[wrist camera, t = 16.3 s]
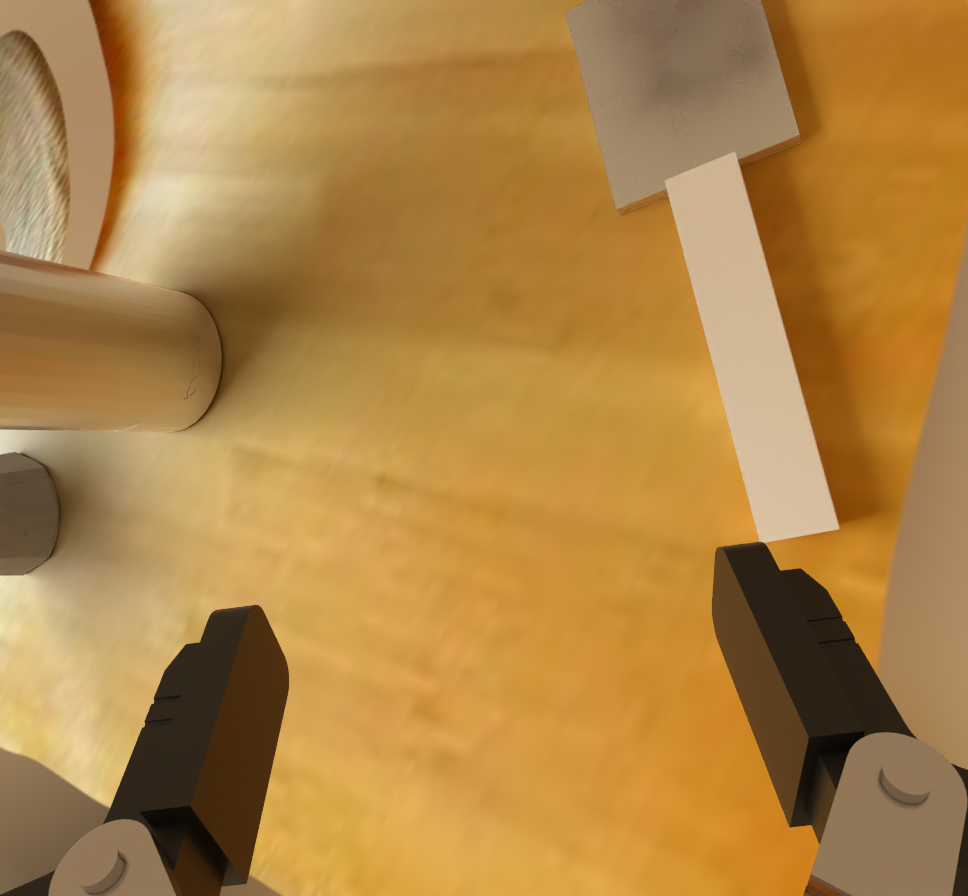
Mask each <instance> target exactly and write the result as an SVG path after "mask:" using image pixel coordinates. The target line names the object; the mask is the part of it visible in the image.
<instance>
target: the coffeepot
mask: <svg viewBox="0 0 968 896" xmlns="http://www.w3.org/2000/svg"><path fill="white" fill-rule="evenodd" d="M58 529H59V503H58V497H57V493H56V489H55V487H54V484H53V482H52V479H51V478H50V476H49V474H48V473H47V471H46V469H45V468H44V467H43V466H42V465H41V464H40V463H38V462H37V461H35V460H34V459H31V458H28V457H25V456H22V455H20V454H18V453H17V452H14V453H8V454H2V455H0V575H24V574H26V573H27V572H29V571H31V570H32V569H34V568H36V567H38V566H40V565H41V564H42V563H43V562H44V561H45V560H46V559H47V558H48V557H49V556H50V554H51V552H52V549H53V547H54V545H55V542H56V539H57V535H58Z"/></svg>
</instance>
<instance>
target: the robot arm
mask: <svg viewBox="0 0 968 896" xmlns="http://www.w3.org/2000/svg"><path fill="white" fill-rule="evenodd" d="M221 361H222V352H221V344H220V338H219V335H218V331H217V328H216V325H215V323H214V321H213V319H212V317H211V315H210V313H209V312H208V311H207V309H206V308H205V307H204V306H203V304H202V303H201V302H199V301H198V300H197V299H195V298H194V297H193V296H190V295H188V294H185V293H183V292H179V291H174V290H170V289H166V288H162V287H157V286H153V285H149V284H144V283H140V282H136V281H132V280H128V279H124V278H119V277H115V276H111V275H106V274H102V273H98V272H93V271H89V270H84V269H80V268H76V267H71V266H67V265H63V264H58V263H54V262H50V261H45V260H41V259H37V258H32V257H28V256H24V255H19V254H15V253H11V252H6V251H2V250H0V429H15V430H74V431H121V432H177V431H180V430H183V429H186V428H188V427H190V426H191V425H192V424H194V423H195V422H196V421H198V420H199V419H200V417H201V416H202V415H203V414H204V413H205V412H206V410H207V409H208V407H209V405H210V404H211V402H212V400H213V398H214V395H215V393H216V390H217V387H218V384H219V379H220V374H221ZM712 617H713V624H714V629H715V633H716V637H717V640H718V643H719V646H720V648H721V651H722V654H723V656H724V659H725V661H726V664H727V666H728V669H729V672H730V674H731V677H732V679H733V682H734V685H735V687H736V690H737V692H738V695H739V698H740V700H741V703H742V705H743V708H744V711H745V713H746V716H747V718H748V721H749V723H750V726H751V729H752V731H753V734H754V736H755V739H756V742H757V744H758V747H759V749H760V752H761V755H762V757H763V760H764V762H765V765H766V767H767V770H768V773H769V775H770V778H771V780H772V783H773V786H774V788H775V791H776V793H777V796H778V799H779V801H780V804H781V806H782V809H783V812H784V814H785V817H786V819H787V822H788V824H789V827H797V826H806V825H812V827H813V829H814V832H815V834H816V837H817V839H818V842H819V844H820V846H819V849H818V853H817V856H816V859H815V862H814V865H813V869H812V872H811V875H810V878H809V881H808V884H807V887H806V889H805V892H804V895H803V896H968V770H966V769H964V768H961V767H958V766H956V765H954V764H952V763H950V762H949V761H948V760H947V759H946V758H945V757H944V756H943V755H942V754H940V753H939V752H938V751H936V750H935V749H934V748H932V747H930V746H929V745H927V744H926V743H924V742H922V741H920V740H918V739H917V738H916V737H915V736H914V735H913V734H912V733H911V731H910V730H909V729H908V727H907V725H906V724H905V723H904V721H903V719H902V717H901V716H900V714H899V712H898V711H897V709H896V707H895V705H894V704H893V702H892V700H891V699H890V697H889V695H888V694H887V692H886V690H885V689H884V687H883V685H882V683H881V682H880V680H879V678H878V676H877V675H876V673H875V671H874V670H873V668H872V666H871V665H870V663H869V661H868V659H867V658H866V656H865V654H864V653H863V651H862V649H861V648H860V646H859V644H858V643H856V642H855V637H854V636H853V634H852V632H851V630H850V629H849V627H848V625H847V624H846V622H845V621H844V622H843V620H842V615H841V613H840V612H839V610H838V608H837V607H836V605H835V603H834V602H833V600H832V598H831V596H830V595H829V593H828V591H827V590H826V589H825V588H824V587H823V586H821V585H820V584H819V583H818V582H817V581H815V580H814V579H813V578H812V577H810V576H809V575H808V574H807V573H806V572H804V571H803V570H802V569H801V568H800V569H792V570H784V571H780V570H779V568H778V566H777V564H776V562H775V560H774V558H773V556H772V554H771V553H770V551H769V549H768V547H767V546H766V545H765V544H764V543H763V542H755V543H747V544H739V545H732V546H724V547H718V548H717V550H716V553H715V566H714V582H713V597H712ZM288 690H289V672H288V666H287V662H286V659H285V656H284V654H283V652H282V650H281V647H280V645H279V643H278V641H277V639H276V637H275V635H274V633H273V630H272V628H271V626H270V624H269V622H268V620H267V618H266V615H265V613H264V611H263V610H262V608H261V607H260V606H259V605H252V606H244V607H236V608H229V609H221V610H215V611H213V613H212V614H211V615H210V617H209V619H208V622H207V624H206V627H205V630H204V633H203V636H202V638H201V641H200V643H192V644H186V645H185V646H184V648H183V649H182V650H181V651H180V652H179V654H178V655H177V656H176V657H175V659H174V660H173V661H172V662H171V664H170V665H169V666H168V667H167V668H166V670H165V671H164V674H163V676H162V679H161V682H160V684H159V687H158V689H157V692H156V694H155V697H154V704H151V707H150V709H149V712H148V714H147V717H146V719H145V727H143V728H142V730H141V732H140V735H139V737H138V740H137V742H136V745H135V747H134V750H133V752H132V755H131V757H130V760H129V762H128V765H127V767H126V770H125V772H124V775H123V777H122V780H121V783H120V785H119V788H118V790H117V793H116V795H115V798H114V800H113V803H112V805H111V808H110V810H109V813H108V815H107V817H106V819H105V821H104V823H103V825H101V826H99V827H97V828H95V829H94V830H92V831H91V832H89V833H87V835H85V836H84V837H82V838H81V839H80V840H79V841H78V842H77V843H76V844H75V845H74V846H73V847H72V848H71V849H70V850H69V851H68V852H67V854H66V855H65V856H64V858H63V859H62V861H61V862H60V863H59V865H58V867H57V869H56V870H55V871H53V872H51V873H49V874H47V875H45V876H42V877H40V878H38V879H36V880H33V881H31V882H29V883H26V884H24V885H22V886H20V887H18V888H15V889H13V890H10V891H8V892H6V893H4V894H1V895H0V896H219V895H220V891H221V887H222V886H230V885H239V884H246V883H247V879H248V875H249V870H250V866H251V861H252V856H253V852H254V847H255V843H256V838H257V834H258V829H259V824H260V820H261V815H262V811H263V806H264V801H265V797H266V792H267V788H268V783H269V779H270V774H271V769H272V765H273V760H274V756H275V751H276V747H277V742H278V737H279V733H280V728H281V724H282V719H283V714H284V710H285V705H286V701H287V696H288Z"/></svg>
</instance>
